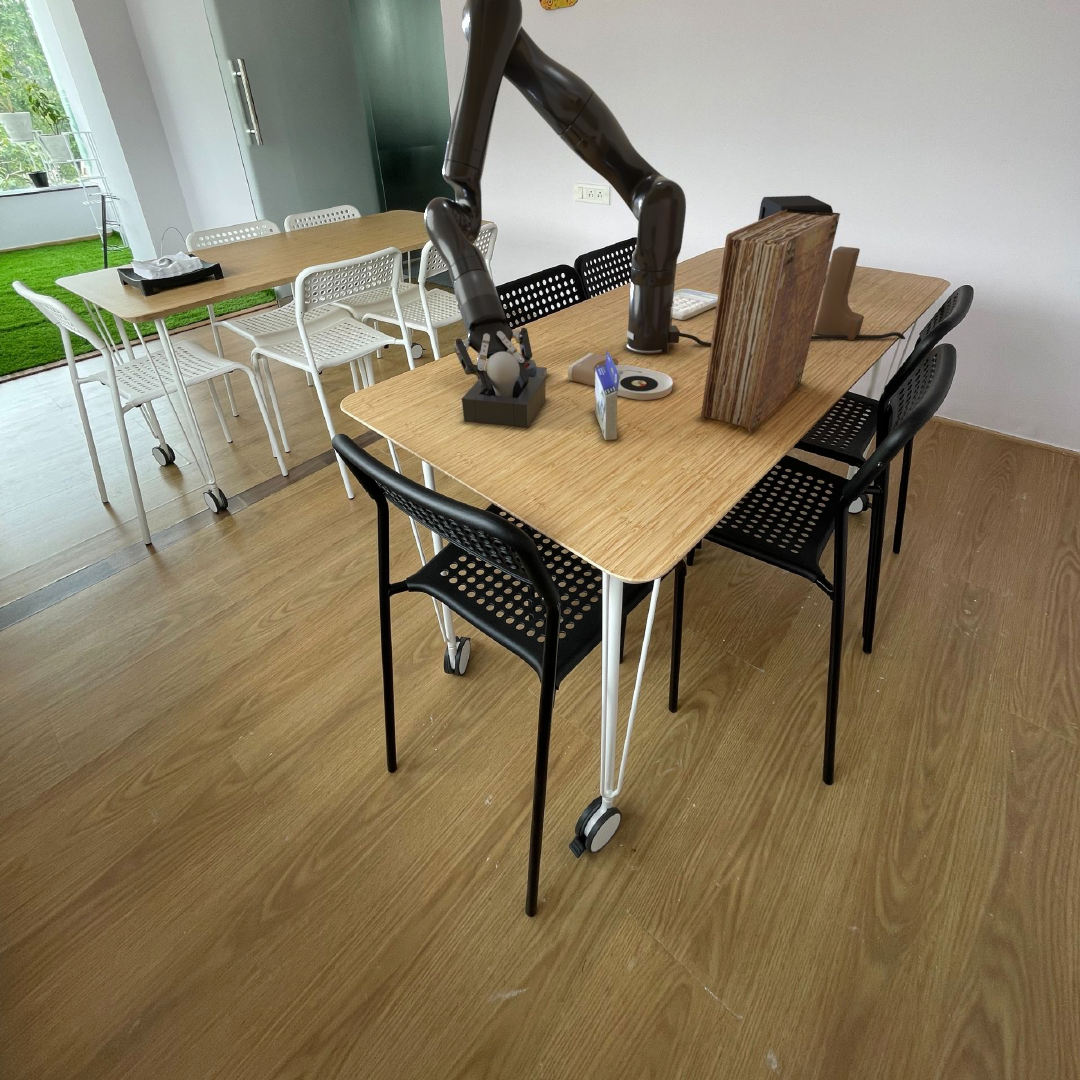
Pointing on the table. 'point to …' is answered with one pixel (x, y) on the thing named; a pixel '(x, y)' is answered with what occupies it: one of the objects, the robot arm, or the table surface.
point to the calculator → (692, 303)
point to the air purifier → (791, 205)
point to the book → (766, 313)
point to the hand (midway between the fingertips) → (507, 388)
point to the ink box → (607, 398)
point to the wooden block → (839, 297)
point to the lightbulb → (502, 373)
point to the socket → (505, 404)
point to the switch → (536, 370)
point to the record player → (623, 378)
